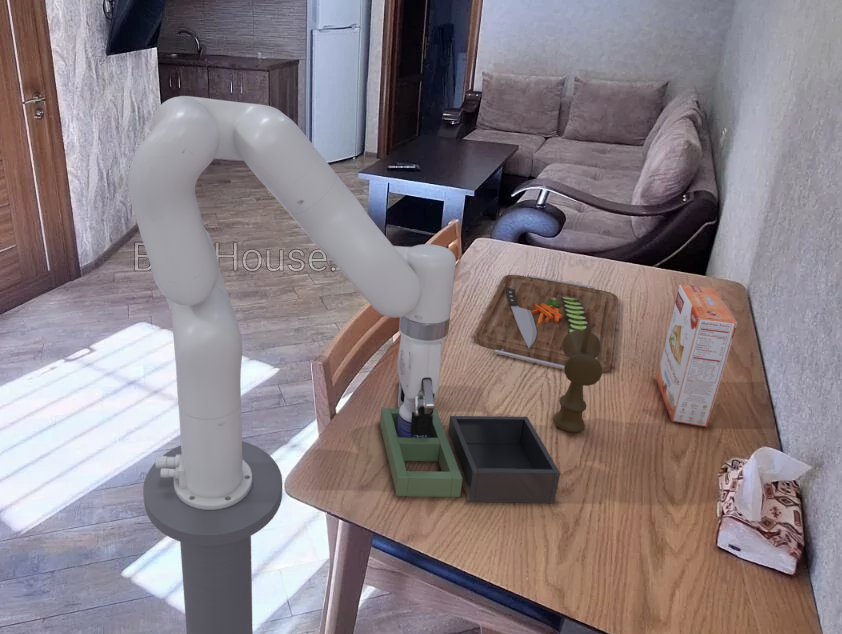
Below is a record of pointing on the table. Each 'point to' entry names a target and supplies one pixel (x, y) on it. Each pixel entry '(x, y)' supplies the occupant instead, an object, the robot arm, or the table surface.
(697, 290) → the cracker box
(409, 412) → the pill bottle
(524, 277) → the chopping board
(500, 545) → the table surface
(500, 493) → the dark grey open bin
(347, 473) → the table surface
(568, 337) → the kendama
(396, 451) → the rack
